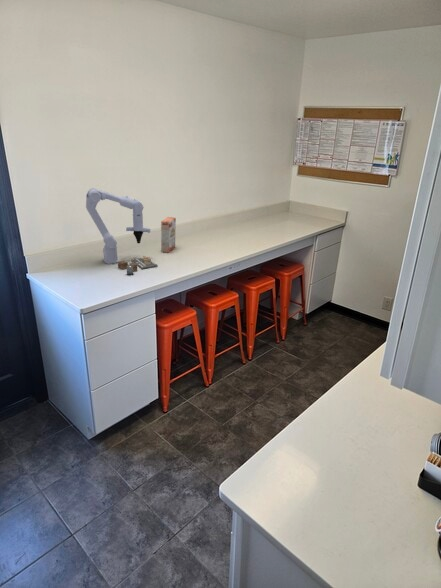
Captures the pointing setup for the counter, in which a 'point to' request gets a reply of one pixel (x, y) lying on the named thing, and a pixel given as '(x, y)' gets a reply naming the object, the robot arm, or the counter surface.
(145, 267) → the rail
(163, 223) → the cracker box
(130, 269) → the metal peg
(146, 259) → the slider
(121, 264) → the walnut block
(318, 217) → the counter surface
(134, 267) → the walnut block
